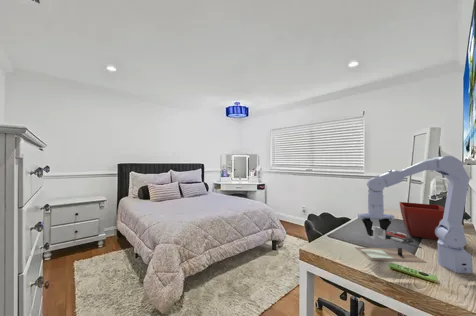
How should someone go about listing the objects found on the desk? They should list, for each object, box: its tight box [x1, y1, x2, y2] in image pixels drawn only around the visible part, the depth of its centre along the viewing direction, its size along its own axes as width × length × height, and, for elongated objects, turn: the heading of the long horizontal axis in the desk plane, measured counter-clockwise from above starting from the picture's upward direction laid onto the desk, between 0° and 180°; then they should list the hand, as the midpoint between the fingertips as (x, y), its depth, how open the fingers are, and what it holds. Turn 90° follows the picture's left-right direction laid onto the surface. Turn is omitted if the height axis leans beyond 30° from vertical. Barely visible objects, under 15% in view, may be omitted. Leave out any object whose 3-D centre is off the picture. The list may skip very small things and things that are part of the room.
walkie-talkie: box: [385, 230, 422, 249], centre depth 112 cm, size 9×4×20 cm
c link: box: [366, 226, 386, 240], centre depth 95 cm, size 5×5×4 cm
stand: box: [354, 246, 428, 264], centre depth 94 cm, size 14×22×4 cm, turn 86°
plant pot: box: [399, 201, 445, 241], centre depth 123 cm, size 19×19×17 cm
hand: (376, 235), depth 94 cm, fingers closed on c link, 5 cm apart
